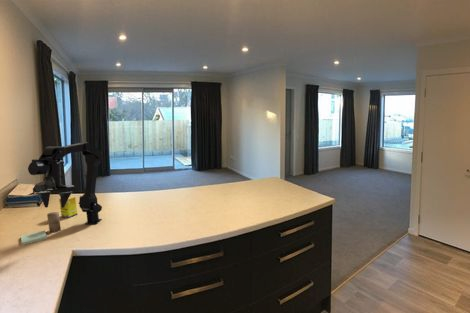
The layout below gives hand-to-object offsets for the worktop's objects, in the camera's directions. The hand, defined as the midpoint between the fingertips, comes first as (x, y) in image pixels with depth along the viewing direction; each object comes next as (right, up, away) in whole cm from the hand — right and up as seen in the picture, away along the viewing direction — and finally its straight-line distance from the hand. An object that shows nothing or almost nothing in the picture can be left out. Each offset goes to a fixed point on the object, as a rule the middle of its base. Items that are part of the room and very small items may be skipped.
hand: (54, 207), depth 143 cm
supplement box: (-12, -11, +36) cm, 39 cm away
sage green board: (-14, -16, +6) cm, 22 cm away
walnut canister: (-8, -14, +15) cm, 22 cm away
